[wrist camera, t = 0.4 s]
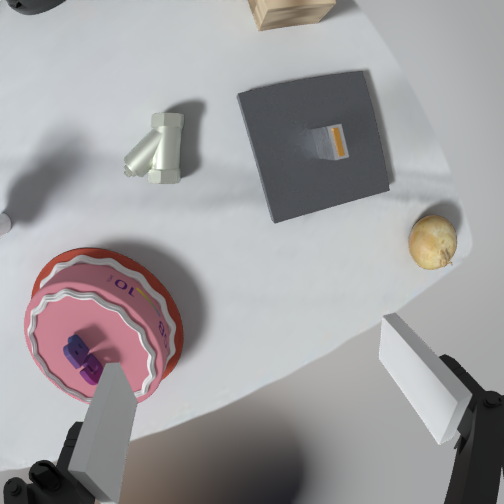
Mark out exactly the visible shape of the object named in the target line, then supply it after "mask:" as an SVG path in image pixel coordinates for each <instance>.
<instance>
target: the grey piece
mask: <svg viewBox="0 0 504 504" xmlns="http://www.w3.org/2000/svg"><path fill="white" fill-rule="evenodd" d="M237 99H238V103H239V106H240V109H241V113H242V116H243V120H244V123H245V126H246V130H247V133H248V137H249V140H250V144H251V147H252V151H253V154H254V158H255V161H256V165H257V168H258V172H259V175H260V179H261V183H262V186H263V190H264V193H265V197H266V201H267V204H268V208H269V212H270V215H271V219H272V221H273V222H274V223H278V222H282V221H285V220H288V219H292V218H295V217H299V216H302V215H305V214H309V213H312V212H316V211H319V210H323V209H326V208H330V207H333V206H337V205H340V204H344V203H347V202H351V201H354V200H358V199H361V198H365V197H368V196H372V195H375V194H379V193H383V192H386V191H390V189H389V183H388V178H387V172H386V167H385V161H384V156H383V151H382V147H381V142H380V137H379V133H378V129H377V124H376V120H375V116H374V112H373V108H372V104H371V100H370V97H369V93H368V89H367V86H366V82H365V79H364V76H363V72H362V71H359V72H350V73H342V74H335V75H328V76H321V77H315V78H309V79H303V80H298V81H292V82H287V83H282V84H277V85H273V86H268V87H263V88H259V89H255V90H251V91H246V92H242V93H238V95H237Z"/></svg>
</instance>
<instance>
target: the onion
mask: <svg viewBox="0 0 504 504" xmlns="http://www.w3.org/2000/svg"><path fill="white" fill-rule="evenodd" d="M412 228H413V229H412V230H411V233H410V235H409V250H410V254H411V256H412V258H413V259H414V261H415V262H416V263H417V264H418V265H419V266H420V267H421V268H423V269H427V270H434V269H438V268H441V267H445V266H446V265H447V264H448V262H449V261H450V260H451V258H452V257H453V255H454V253H455V251H456V247H457V236H456V232H455V229H454V227H453V226H452V224H451V223H450V222H449V221H448V220H447V219H445V218H443V217H441V216H438V215H430V216H426V217H423V218H422V219H420V220H419V221H418V222H417V223H416V224H415V225H414V226H413V227H412ZM449 263H450V264H451V265H453V264H452V262H449Z"/></svg>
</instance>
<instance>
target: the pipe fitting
mask: <svg viewBox="0 0 504 504" xmlns="http://www.w3.org/2000/svg"><path fill="white" fill-rule="evenodd" d="M183 125H184V115H183V114H179V113H155V114H153V115H152V122H151V126H152V127H153V129H152V130H151V131H150V132H149V133H148V134H147V135H146V136H145V137H144V138H143V139H142V140H141V141H140V142H139V143H138V144H137V145H136V146H135V147H134V148H133V149H132V150H131V151H130V153H129V154H128V155H127V156H126V157H125V158H124V161H125V163H126V165H125V166H124V168H125V170H126V171H125V172H124V173H125V175H126V176H127V177H130V176H133V177H135V176H136V175H138V176H139V177H143V176H144V175H145V174H146V173H147V172H148V171H149V178H148V182H150V183H154V184H176V183H179V182H180V174H181V170H180V169H179V161H180V144H181V129H182V128H183Z"/></svg>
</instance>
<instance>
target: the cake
mask: <svg viewBox="0 0 504 504" xmlns="http://www.w3.org/2000/svg"><path fill="white" fill-rule="evenodd" d="M24 332H25V338H26V342H27V346H28V348H29V351H30V353H31V355H32V357H33V359H34V361H35V363H36V364H37V366H38V367H39V368H40V370H41V371H42V372H43V374H44V375H45V376H46V377H47V378H48V379H49V380H50V381H51V382H52V383H53V384H54V385H56V386H57V387H58V388H59V389H61V390H62V391H63V392H65V393H66V394H68V395H70V396H71V397H73V398H75V399H77V400H80V401H82V402H84V403H87V404H90V403H91V400H92V398H93V395H94V392H95V390H96V387H97V385H98V382H99V380H100V377H101V375H102V372H103V370H104V367H105V365H106V363H118V362H120V365H121V367H122V369H123V371H124V373H125V376H126V378H127V380H128V382H129V384H130V386H131V388H132V390H133V393H134V395H135V397H136V399H137V401H138V403H140V402H142V401H144V400H145V399H147V398H148V397H149V396H151V395H152V394H153V393H154V391H155V390H156V389H157V387H158V386H159V384H160V382H161V381H162V380H163V379H164V378H165V377H166V376H168V375H169V373H170V372H171V371H172V370H173V368H174V367H175V365H176V364H177V362H178V360H179V357H180V355H181V351H182V347H183V326H182V321H181V317H180V314H179V312H178V309H177V307H176V305H175V303H174V301H173V299H172V297H171V296H170V294H169V293H168V291H167V290H166V289H165V287H164V286H163V285H162V284H161V283H160V281H159V280H158V279H157V278H156V277H155V276H154V275H153V274H151V273H150V272H149V271H148V270H147V269H145V268H144V267H143V266H141V265H140V264H138V263H137V262H135V261H133V260H132V259H130V258H128V257H126V256H123V255H121V254H118V253H116V252H112V251H109V250H105V249H98V248H79V249H74V250H70V251H67V252H64V253H62V254H60V255H58V256H56V257H55V258H53V259H52V260H51V261H50V262H49V263H48V264H46V266H45V267H44V268H43V269H42V271H41V272H40V274H39V275H38V277H37V279H36V281H35V284H34V287H33V291H32V297H31V301H30V303H29V305H28V307H27V310H26V313H25V319H24ZM138 403H137V404H138Z"/></svg>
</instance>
